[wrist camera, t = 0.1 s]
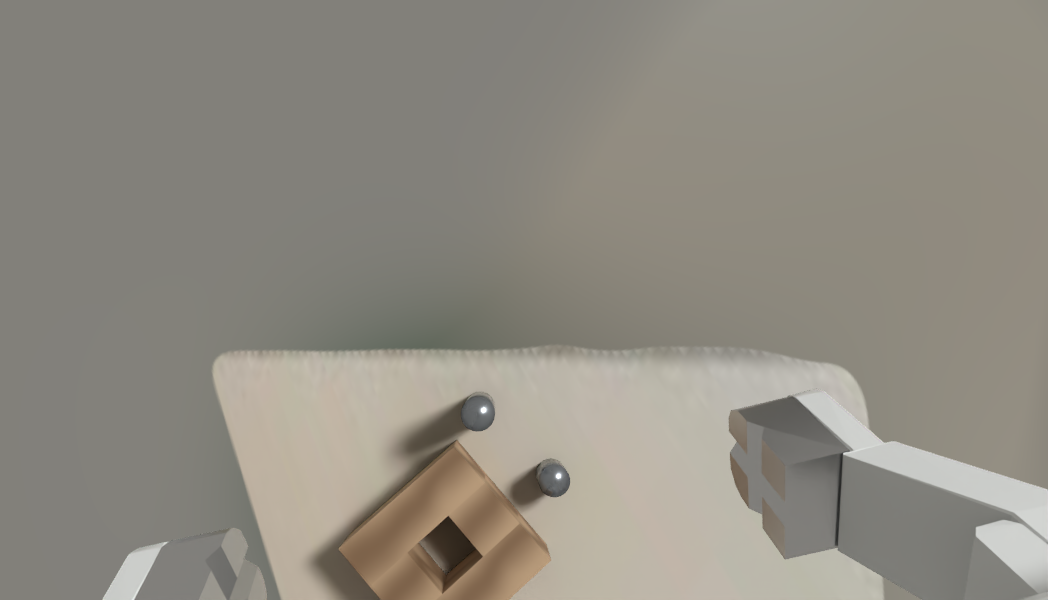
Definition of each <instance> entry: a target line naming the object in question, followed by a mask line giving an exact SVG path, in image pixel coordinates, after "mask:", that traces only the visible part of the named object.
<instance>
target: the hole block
mask: <svg viewBox="0 0 1048 600" xmlns="http://www.w3.org/2000/svg"><path fill="white" fill-rule="evenodd" d="M447 516H449V517H450V518H451V519H452V521H453V522H454V523H455V524H456V525H457V526H458V528H459V529H460V530H461V531H462V532H463V534H464V535H465V536H466V537H467V538H468V539H469V541H470V542H471V543H472V544H473V545H474V546H475V548H476V549H475V550H474V551H472V552H471V553H470V554H469V555H468V556H467V557H466V558H465V559H464V560H463V561H461V562H460V563H459V564H458V565H457V566H456V567H455V568H454V569H453V570H452V571H450V572H449V573H448V574H447V575H446V574H445V573H444V572H443V571H442V570H441V568H440V567H439V566H438V565H437V564H436V562H435V561H434V560H433V559H432V558H431V557H430V555H429V554H428V553H427V552H426V551H425V549H424V548H423V547H422V546H421V545H420V544H419V542H420V541H421V540H422V539H423V538H424V537H425V536H426V535H427V534H429V533H430V532H431V531H432V530H433V529H434V528H435V527H436V526H437V525H439V524H440V523H441V522H442V521H443V520H444V519H445V518H446V517H447ZM338 549H339V551H340V552H341V553H342V554H343V555H344V557H345V558H346V559H347V560H348V561H349V562H350V564H351V565H352V566H353V567H354V568H355V570H356V571H357V572H358V573H359V574H360V576H361V577H362V578H363V579H364V580H365V582H366V583H367V584H368V585H369V586H370V588H371V589H372V590H373V591H374V592H375V593H376V595H377V596H378V597H379V598H380V599H381V600H509V599H510V598H511V597H512V596H513V595H514V594H515V593H516V592H517V591H518V590H520V589H521V588H522V587H523V586H524V585H525V584H526V583H527V582H528V581H529V580H530V579H531V578H532V577H534V576H535V575H536V574H537V573H538V572H539V571H540V570H541V569H542V568H543V567H544V566H545V565H547V564H548V563H549V562H550V561H551V559H550V555H549V552H548V548H547V545H546V543H545V542H544V541H543V540H542V539H541V538H540V536H539V535H538V534H537V533H536V532H535V531H534V529H533V528H532V527H531V526H530V525H529V524H528V522H527V521H526V520H525V519H524V518H523V517H522V515H521V514H520V513H519V512H518V511H517V510H516V508H515V507H514V506H513V505H512V504H511V503H510V501H509V500H508V499H507V498H506V497H505V496H504V494H503V493H502V492H501V491H500V490H499V489H498V487H497V486H496V485H495V484H494V483H493V482H492V480H491V479H490V478H489V477H488V476H487V475H486V473H485V472H484V471H483V470H482V469H481V468H480V466H479V465H478V464H477V463H476V462H475V461H474V459H473V458H472V457H471V456H470V455H469V454H468V452H467V451H466V450H465V449H464V448H463V447H462V445H461V444H460V443H459V442H458V441H457V440H456V441H455V442H454V443H453V444H451V445H450V446H449V447H448V448H447V449H446V450H445V451H444V452H442V453H441V454H440V455H439V456H438V457H437V458H436V459H434V460H433V461H432V462H431V463H430V464H429V465H428V466H427V467H425V468H424V469H423V470H422V471H421V472H420V473H419V474H417V475H416V476H415V477H414V478H413V479H412V480H411V481H410V482H408V483H407V484H406V485H405V486H404V487H403V488H402V489H400V490H399V491H398V492H397V493H396V494H395V495H394V496H393V497H391V498H390V499H389V500H388V501H387V502H386V503H385V504H383V505H382V506H381V507H380V508H379V509H378V510H377V511H376V512H374V513H373V514H372V515H371V516H370V517H369V518H368V519H366V520H365V521H364V522H363V523H362V524H361V525H360V526H359V527H357V528H356V529H355V530H354V531H353V532H352V533H351V534H350V535H349V536H348V537H347V539H346V540H345V541H344V542H343V543H342V545H341V546H340V547H339V548H338Z"/></svg>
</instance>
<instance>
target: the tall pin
mask: <svg viewBox="0 0 1048 600" xmlns="http://www.w3.org/2000/svg"><path fill="white" fill-rule="evenodd" d="M494 416H495V408H494V401H493V399H492V398H491V396H490V395H488V394H487V393H484V392H476V393H473V394H472V395H470V396H469V398H468V399H467V401H466V402H465V404H464V405H463V407H462V410H461V419H462V422H463V423H464V425H465V426H466V427H467V428H468V429H470V430H472V431H483V430H485V429H487V428H488V427H489V426H490V425H491V424H492V422H493V420H494Z"/></svg>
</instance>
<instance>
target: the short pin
mask: <svg viewBox="0 0 1048 600" xmlns="http://www.w3.org/2000/svg"><path fill="white" fill-rule="evenodd" d="M536 477H537V480H538V483H539V485H540V488H541V490H542V491H543V492H544V493H545V494H546V495H548V496H550V497H559V496H561V495H563V494H564V493H565V492H566V491H567V490H568V488H569V485H570V477H569V474H568V473H567V471H566V469H565V468H564V466H563V465H562V464H561V463H560V462H559V461H558V460H555V459H546V460H544V461H542V462H541V463H540V464H539V466H538V468H537V471H536Z"/></svg>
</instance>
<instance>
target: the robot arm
mask: <svg viewBox="0 0 1048 600" xmlns="http://www.w3.org/2000/svg"><path fill="white" fill-rule="evenodd" d="M729 432H730V433H731V434H732V436H733V437H734V438H735V440H736V441H737V443H736V444H735V446H734V447H733V449H732V450H731V452H730V461H731V470H732V474H733V477H734V481H735V484H736V487H737V489H738V491H739V493H740V495H741V497H742V499H743V500H744V502H745V503H746V505H747V506H748V508H750V509H752V510H754V511H756V512H758V513H760V514H762V518H763V529H764V531H765V532H766V533H767V535H768V536H769V538H770V539H771V540H772V542H773V543H774V545H775V546H776V547H777V549H778V550H779V552H780V553H781V555H782V556H783V557H784V559H789V558H793V557H798V556H802V555H807V554H811V553H816V552H820V551H825V550H829V549H833V548H838V551H840V552H841V553H843V554H845V555H847V556H848V557H850V558H852V559H853V560H855V561H857V562H859V563H860V564H862V565H864V566H865V567H867V568H869V569H870V570H872V571H874V572H876V573H877V574H879V575H881V576H882V577H884V578H886V579H888V580H890V581H891V582H893V583H894V584H896V585H898V586H900V587H901V588H903V589H905V590H906V591H908V592H910V593H911V594H913V595H915V596H917V597H918V598H920V599H922V600H1048V490H1047V489H1044V488H1041V487H1038V486H1035V485H1031V484H1028V483H1025V482H1022V481H1019V480H1015V479H1012V478H1009V477H1006V476H1003V475H1000V474H997V473H993V472H990V471H987V470H984V469H981V468H977V467H974V466H971V465H968V464H965V463H962V462H958V461H955V460H952V459H949V458H946V457H942V456H939V455H936V454H933V453H930V452H927V451H923V450H920V449H917V448H914V447H911V446H907V445H904V444H901V443H898V442H895V441H892V442H888V443H884V442H883V441H881V440H880V439H879V438H878V437H877V436H876V435H874V434H873V433H872V432H871V431H870V430H869V429H867V428H866V427H865V426H864V425H863V424H862V423H861V422H859V421H858V420H857V419H856V418H855V417H854V416H852V415H851V414H850V413H849V412H848V411H847V410H845V409H844V408H843V407H842V406H841V405H840V404H838V403H837V402H836V401H835V400H834V399H833V398H831V397H830V396H829V395H828V394H827V393H826V392H824V391H823V390H820V389H812V390H808V391H804V392H801V393H797V394H793V395H789V396H788V397H785V398H781V399H777V400H773V401H769V402H764V403H760V404H756V405H752V406H748V407H744V408H740V409H735V410H731V412H730V416H729ZM247 548H248V544H247V542H246V540H245V538H244V536H243V534H242V533H241V530H239V529H236V528H228V529H223V530H219V531H214V532H209V533H204V534H200V535H195V536H190V537H186V538H181V539H177V540H171V541H169V542H164V543H159V544H155V545H150V546H146V547H141V548H138V549H136V550H135V551H133V552H132V553H130V554H129V555H128V556H127V558H126V560H125V562H124V563H123V565H122V567H121V568H120V570H119V572H118V574H117V575H116V577H115V579H114V580H113V582H112V584H111V586H110V587H109V589H108V591H107V592H106V594H105V596H104V598H103V599H102V600H267V591H266V587H265V583H264V578H263V576H262V574H261V571H260V569H259V567H258V566H257V565H255V564H253V563H251V562H250V561H248V560H246V559H244V557H245V554H246V551H247Z"/></svg>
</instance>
